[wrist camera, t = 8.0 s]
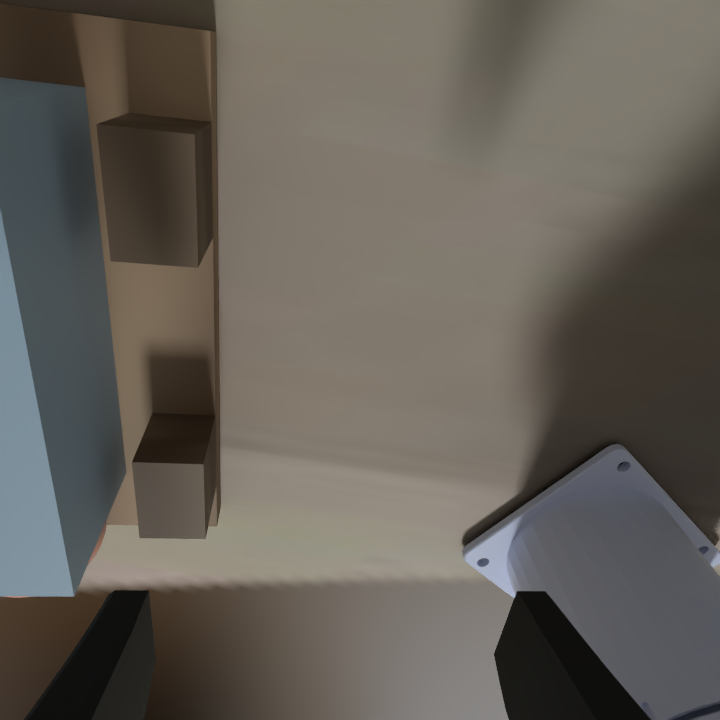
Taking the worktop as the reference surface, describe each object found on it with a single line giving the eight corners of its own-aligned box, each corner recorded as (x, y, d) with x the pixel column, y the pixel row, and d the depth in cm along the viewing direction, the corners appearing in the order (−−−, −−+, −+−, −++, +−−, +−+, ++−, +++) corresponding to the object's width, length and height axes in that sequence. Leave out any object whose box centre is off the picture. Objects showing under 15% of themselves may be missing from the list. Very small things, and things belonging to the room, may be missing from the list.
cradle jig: (215, 31, 14) (191, 26, 11) (220, 507, 22) (206, 582, 18) (-232, -27, 13) (-402, -52, 10) (-60, 501, 20) (-125, 581, 17)
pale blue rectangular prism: (85, 87, 13) (-20, 103, 9) (131, 515, 20) (83, 643, 16) (-97, 66, 13) (-301, 72, 9) (12, 513, 20) (-72, 645, 15)
